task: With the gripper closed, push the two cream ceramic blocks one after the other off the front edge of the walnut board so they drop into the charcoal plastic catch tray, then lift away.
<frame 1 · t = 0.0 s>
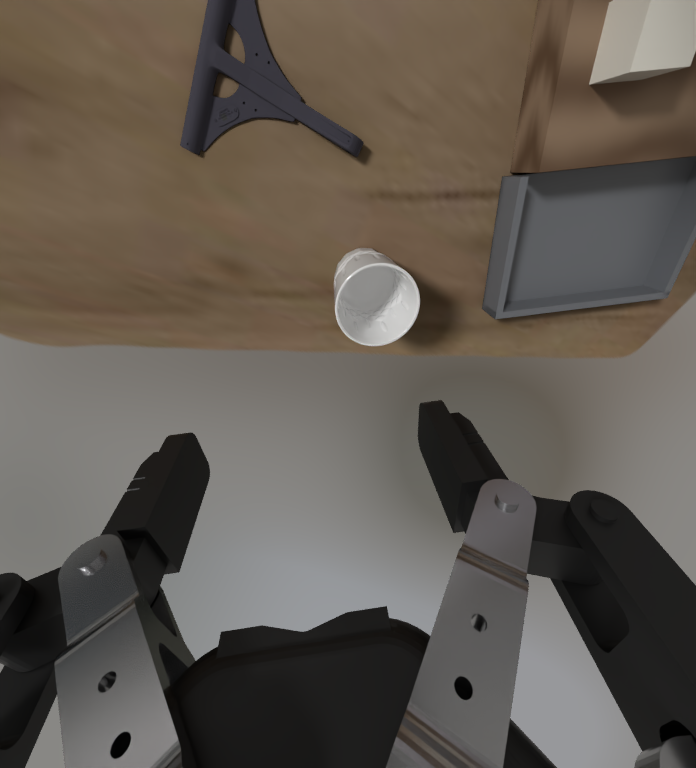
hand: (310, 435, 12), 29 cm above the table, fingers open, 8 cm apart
tile a: (626, 43, 25), point 5 cm above the table, touching walnut board
white cup: (362, 277, 38), on the table
catch tray: (580, 239, 38), on the table
walnut board: (629, 71, 30), on the table
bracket: (286, 106, 29), on the table
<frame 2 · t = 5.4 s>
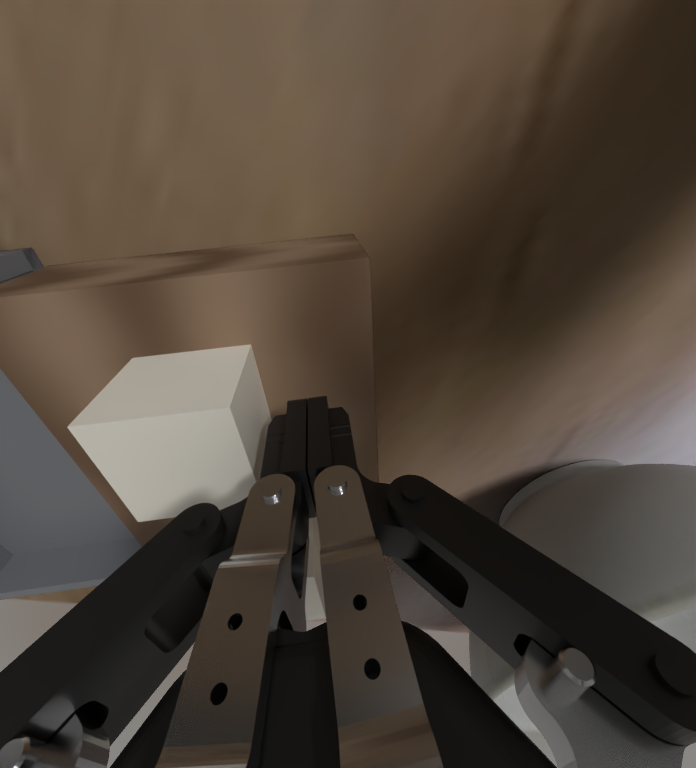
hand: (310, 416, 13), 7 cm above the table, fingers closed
tile a: (210, 398, 14), point 5 cm above the table, touching gripper, walnut board
catch tray: (21, 444, 20), on the table
walnut board: (255, 415, 21), on the table
tile b: (280, 530, 19), point 5 cm above the table, touching walnut board
decorative bowl: (562, 503, 30), on the table
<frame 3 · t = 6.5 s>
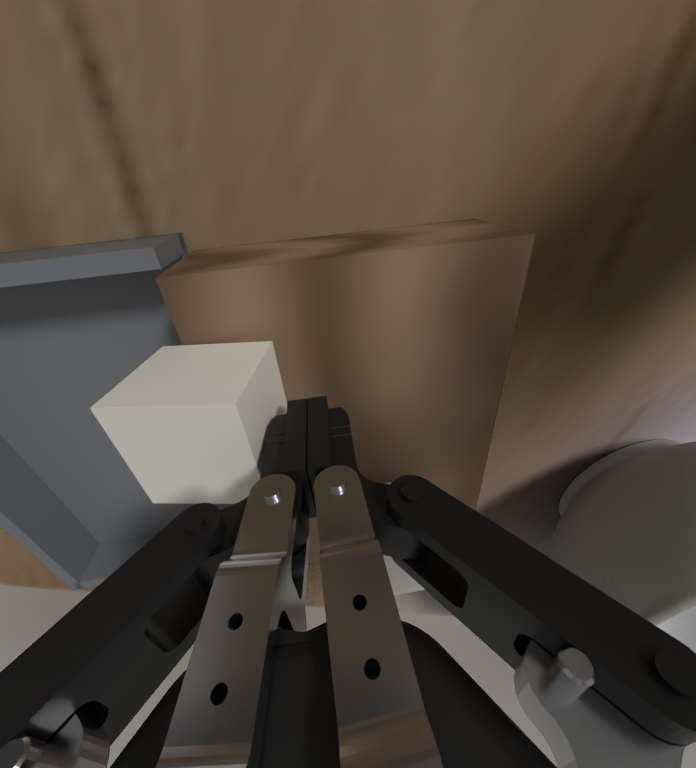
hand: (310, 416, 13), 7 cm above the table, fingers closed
tile a: (232, 390, 14), point 5 cm above the table, tilted 11°, touching gripper, walnut board
catch tray: (128, 430, 21), on the table
walnut board: (353, 398, 21), on the table
tile b: (386, 506, 20), point 5 cm above the table, touching walnut board
decorative bowl: (618, 484, 31), on the table
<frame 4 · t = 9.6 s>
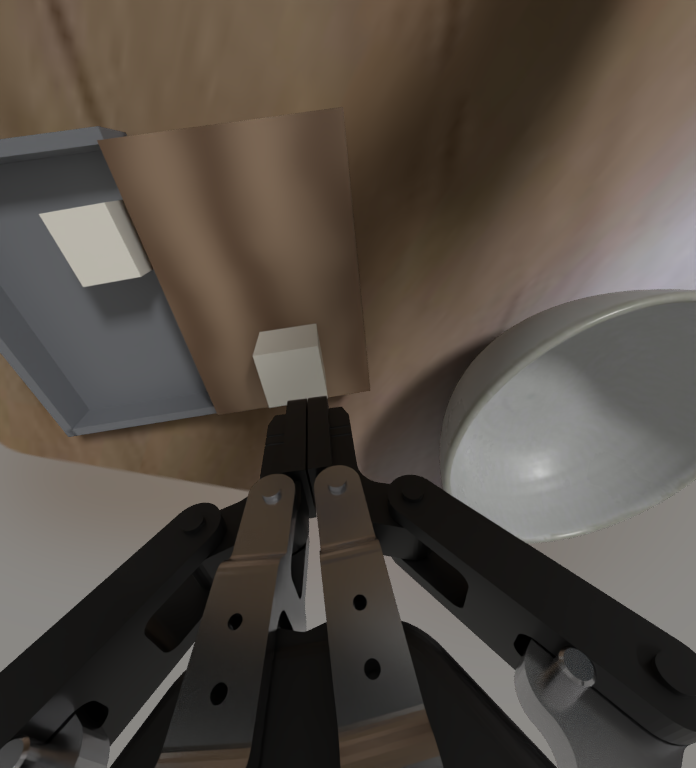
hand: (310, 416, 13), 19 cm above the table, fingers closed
tile a: (138, 236, 23), point 3 cm above the table, tilted 90°, touching catch tray
catch tray: (103, 302, 28), on the table
walnut board: (272, 277, 28), on the table
tile b: (293, 352, 27), point 5 cm above the table, touching walnut board
decorative bowl: (519, 375, 37), on the table
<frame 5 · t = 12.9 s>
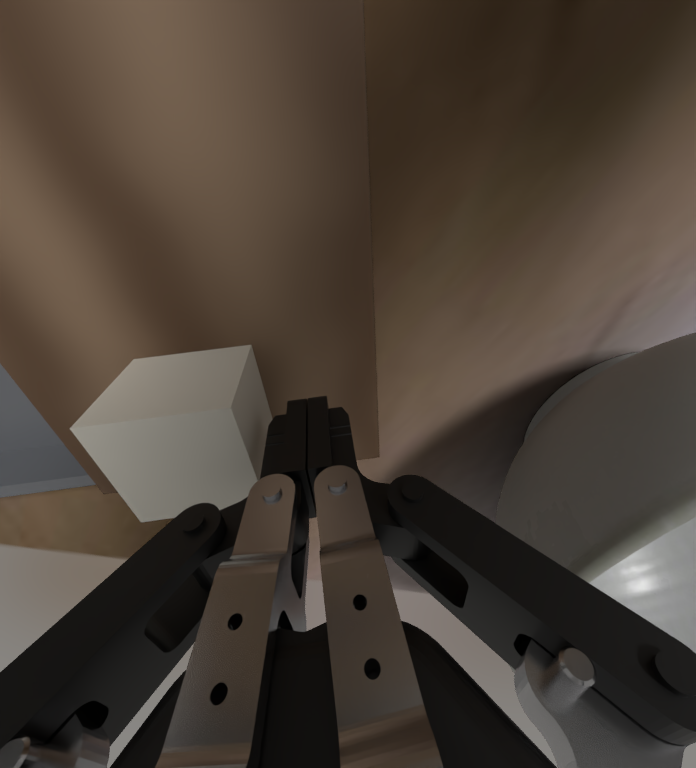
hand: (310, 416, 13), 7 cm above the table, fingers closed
walnut board: (205, 247, 15), on the table
tile b: (211, 398, 14), point 5 cm above the table, touching gripper
decorative bowl: (600, 420, 25), on the table
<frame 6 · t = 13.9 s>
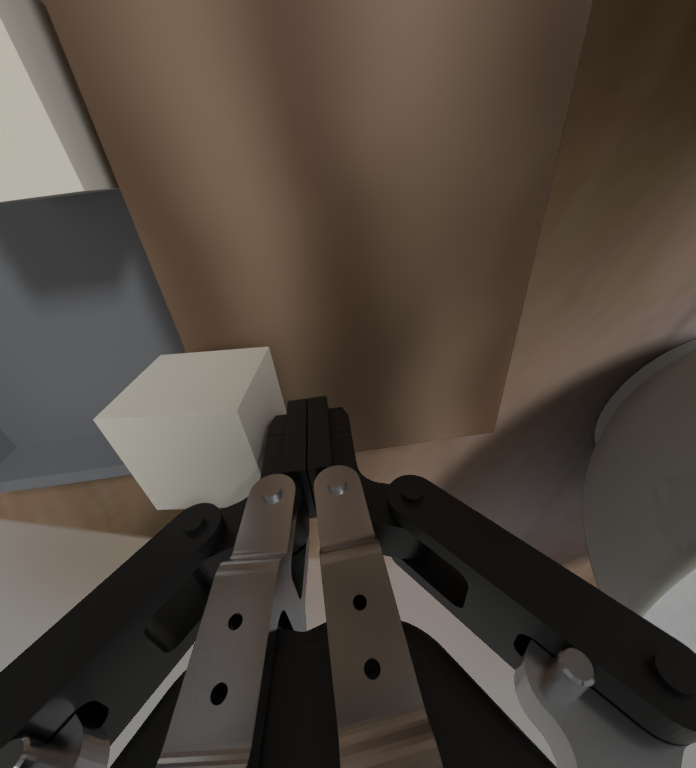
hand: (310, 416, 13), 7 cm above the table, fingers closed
tile a: (84, 105, 10), point 3 cm above the table, tilted 90°, touching catch tray
catch tray: (30, 263, 15), on the table
walnut board: (340, 230, 16), on the table
tile b: (231, 396, 14), point 5 cm above the table, tilted 8°, touching gripper, walnut board
decorative bowl: (669, 403, 26), on the table
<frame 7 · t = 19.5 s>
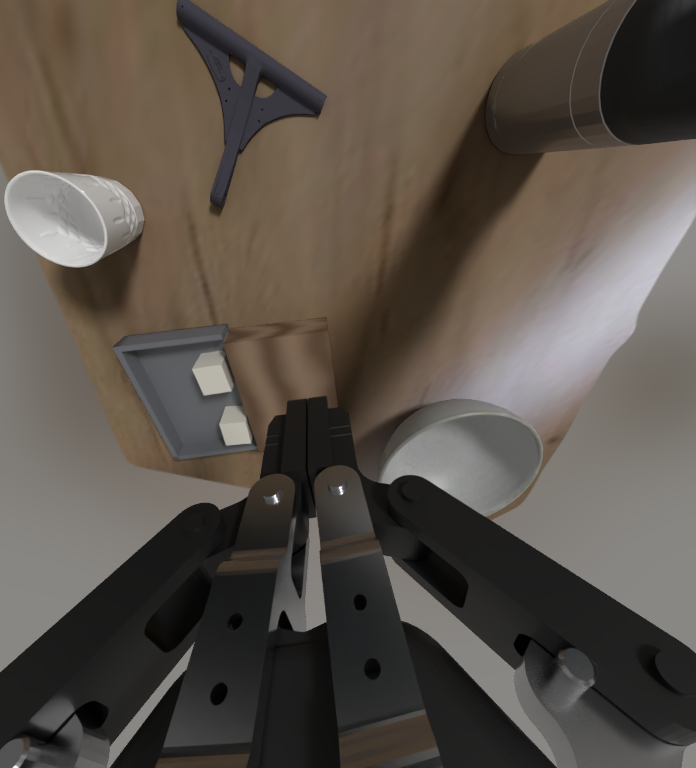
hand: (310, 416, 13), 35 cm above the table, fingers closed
tile a: (229, 370, 47), point 3 cm above the table, tilted 90°, touching catch tray
white cup: (113, 211, 38), on the table
catch tray: (201, 391, 52), on the table
walnut board: (291, 380, 53), on the table
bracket: (237, 134, 36), on the table
tile b: (250, 423, 53), point 3 cm above the table, tilted 90°, touching catch tray
decorative bowl: (435, 427, 62), on the table
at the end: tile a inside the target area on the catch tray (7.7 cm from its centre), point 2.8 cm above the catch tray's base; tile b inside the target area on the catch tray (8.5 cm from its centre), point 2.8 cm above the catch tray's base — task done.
